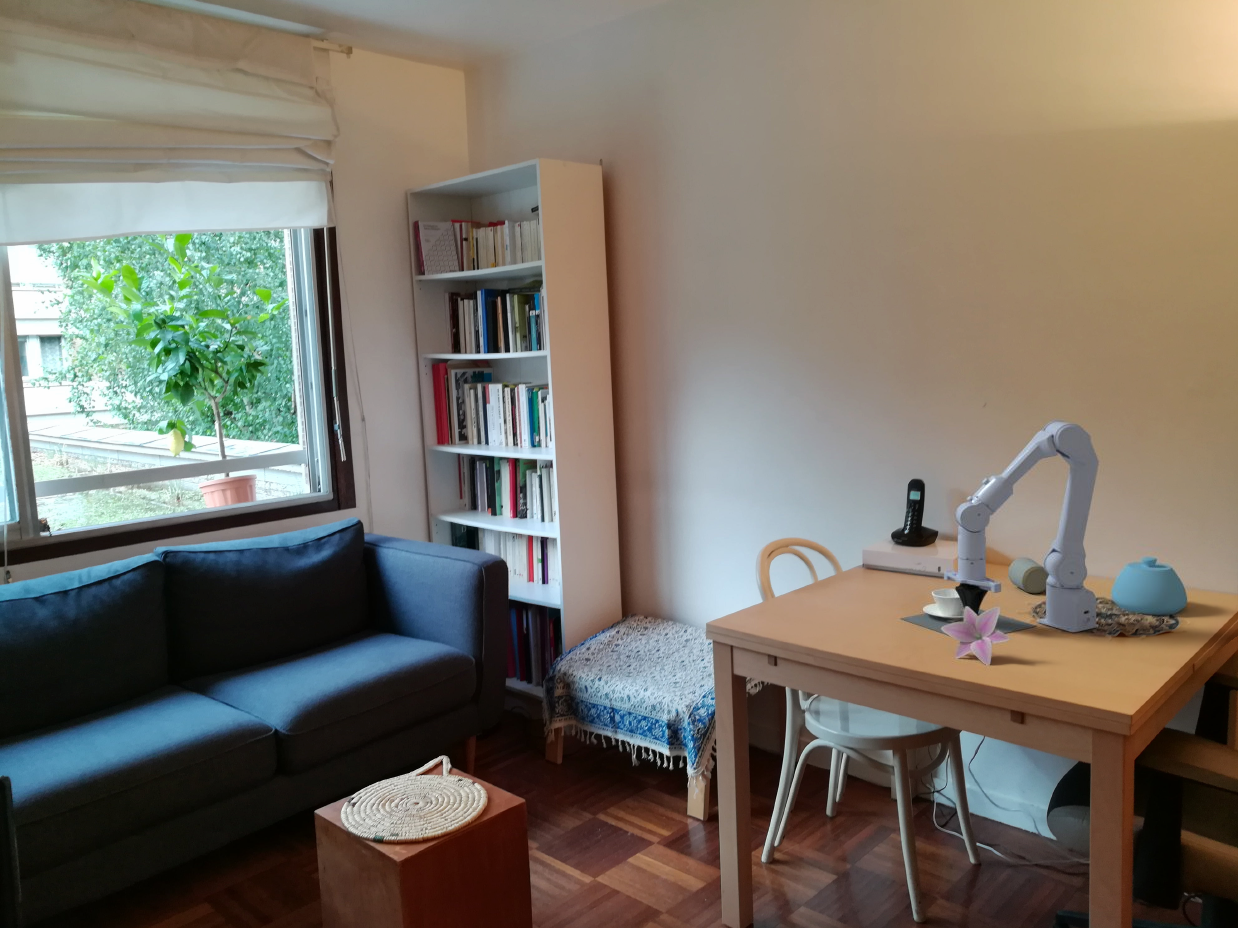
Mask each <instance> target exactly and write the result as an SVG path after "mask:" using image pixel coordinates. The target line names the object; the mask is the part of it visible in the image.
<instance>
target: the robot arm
mask: <svg viewBox="0 0 1238 928" xmlns="http://www.w3.org/2000/svg"><path fill="white" fill-rule="evenodd" d="M1091 439H1092V437H1091V435H1090V434H1089V432H1087V430H1085V429H1084V428H1083V427H1082V426H1081V425H1079V424H1077V423H1073V422H1066V421H1064V420H1058V419H1057V420H1056V419H1055V420H1053V421H1050V422H1047V424H1046V425H1045V426H1044V427H1043V429H1042V430H1039V431H1038V432H1037V433H1035V435H1034V436H1033V438H1032V439H1031V440H1030V441H1029V442H1028V444H1026V446H1025V447H1024V448H1023V450H1021V451H1020V452H1019V453H1018V455H1017V456H1015V458H1014V459H1013V461H1011V463H1010V464H1009V465H1008V466H1007V467H1006V468H1005V469H1004V471H1003V472H1002V473H1001V474H1000V475H991V476H990V477H989V478H987V477H985V478H984V479H983V480H982V481H981V483H982V484H983V485H981V486H980V488H978V490H977V491H975V493H974V494H973V495H972V496H971V495H969V496H968V497H967V498H966V500H967V502H963V503H961V504H960V505H959V506H958V507H957V509H956V511H955V513H954V519H955V522H956V523H958V524H957V525H958V526H957V527H958V529H957V531H958V534H957V571H954V570H950V569H949V570H945V571H943V580H944V581H951V582H954V583H958V584H959V585H957V586H955V587H954V589H955V590H956V592H957V593H958V595H959V597H960V599H961V601H962V604H963V607H964V609H965V607H966V606H968V607H969V608H970V609H972V610H973V611H974V612H975V613H976V614H977V616H978V612H979V609H981V605H982V602H983V600H984V599H985V597H986V596H987V593H988V592H989V591H990V592H991V593H992V594H998V593H1001V592H1002V583H1001V582H998V581H996V580H994V579H991V578H989V577H988V576H987V574H986V573H987V566H986V565H987V564H986V563H987V557H986V555H987V554H986V553H987V550H986V548H987V547H986V546H987V543H986V542H987V541H986V539H987V538H986V528H987V527H988V525H989V524H990V518H991V516H993V515H994V514H995V513H996V512H997V511H998V509H1000V508H1001V507H1002V506H1003V505H1004V503H1005V502H1007V501H1008V500H1009V499H1010V498H1011V497H1012V495H1013V494H1014V486H1015V484H1016V483H1018V481H1019V480H1020V479H1021V478H1023V477H1024V476H1025V475H1026V474H1027V473H1028V472H1029V471H1030V470H1031V469H1032V468H1034V466H1036V465H1037V464H1038V463H1039V462H1040V461H1041V460H1042V459H1048V458H1052V457H1053V458H1054V457H1056V456H1059V455H1060V456H1061V457H1062V459H1064V461H1065V462H1066V463H1067V465H1068V466H1069V467H1070V468H1069V472H1068V478H1067V483H1066V488H1065V491H1064V492H1065V494H1064V497H1063V502H1062V508H1061V514H1060V518H1059V525H1058V529H1057V534H1056V538H1055V539H1054V540H1053V541H1052V543H1051V546H1050V549H1049V551H1048V553H1047V554H1046V555H1045V557H1044V559H1043V562H1042V563H1043V565H1042V567H1044V569H1045V571H1046V572H1047V573H1048V574H1049V576H1048V579H1047V580H1046V589H1045V591H1046V592H1045V593H1046V594H1045V595H1046V597H1045V601H1046V602H1045V618H1040V619H1036V622H1037V623H1038V624H1042V625H1046V626H1050V627H1053V628H1057V629H1060V630H1062V631H1065V632H1070V633H1078V632H1081V631H1086V630H1090V629H1095V628H1098V627H1099V624H1097V598H1096V595H1095V593H1094V592H1093V591H1092V590H1091V589H1088V588H1086V587H1085V586H1084V582H1085V581H1086V580H1087V576H1088V568H1087V566H1086V558H1087V553H1086V550H1085V547H1084V546H1085V545H1084V540H1085V536H1086V530H1087V525H1088V524H1087V523H1088V521H1089V515H1090V510H1091V504H1092V499H1093V494H1094V490H1095V489H1094V488H1095V484H1096V479H1097V474H1098V470H1099V465H1100V464H1099V462H1100V461H1099V458H1098V456H1097V453H1096V451H1095V449H1094V446H1093V444H1092V440H1091Z"/></svg>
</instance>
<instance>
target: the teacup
mask: <svg viewBox="0 0 1238 928" xmlns="http://www.w3.org/2000/svg"><path fill="white" fill-rule="evenodd" d="M931 594H932V598H933V599H934V602H935V603H931V604H927V605H925V606H924V607H923V608H922V611H923V612H924V613H928V614H931V615H935V616H940V617H943V618H948V619H957V618H961V617H964V607H963V604H962V601H961V599H960V597H959V595H958V593H957V592H956V590H955V588H940V589H936V590H932V591H931ZM978 613H979V612H978Z"/></svg>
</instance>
